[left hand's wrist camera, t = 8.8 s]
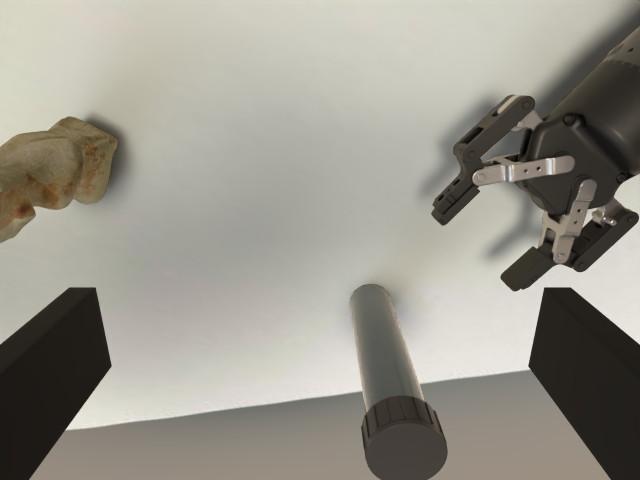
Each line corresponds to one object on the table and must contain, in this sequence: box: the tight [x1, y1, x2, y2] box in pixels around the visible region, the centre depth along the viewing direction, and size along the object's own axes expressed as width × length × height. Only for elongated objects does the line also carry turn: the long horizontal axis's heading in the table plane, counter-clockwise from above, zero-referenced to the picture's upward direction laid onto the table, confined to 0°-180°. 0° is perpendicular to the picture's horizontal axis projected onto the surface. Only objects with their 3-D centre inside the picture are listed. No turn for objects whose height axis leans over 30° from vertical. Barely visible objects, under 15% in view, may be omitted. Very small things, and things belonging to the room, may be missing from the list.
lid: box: [361, 395, 447, 480], centre depth 27 cm, size 5×5×2 cm
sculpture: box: [0, 117, 118, 243], centre depth 31 cm, size 6×7×15 cm
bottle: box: [350, 284, 425, 413], centre depth 35 cm, size 4×4×18 cm
